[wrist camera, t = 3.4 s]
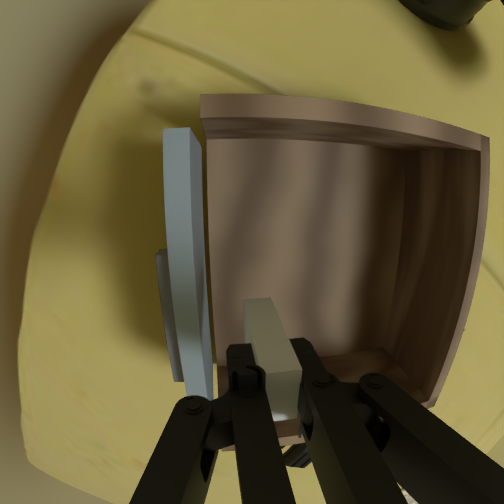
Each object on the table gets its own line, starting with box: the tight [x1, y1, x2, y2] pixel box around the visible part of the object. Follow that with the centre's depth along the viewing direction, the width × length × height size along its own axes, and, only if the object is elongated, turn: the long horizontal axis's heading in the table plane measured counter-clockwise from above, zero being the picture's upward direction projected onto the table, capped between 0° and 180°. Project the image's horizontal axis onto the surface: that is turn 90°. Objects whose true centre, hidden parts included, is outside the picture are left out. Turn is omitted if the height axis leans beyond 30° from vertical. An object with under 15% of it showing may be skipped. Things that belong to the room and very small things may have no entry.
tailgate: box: [155, 127, 213, 401], centre depth 20 cm, size 2×20×11 cm, turn 0°
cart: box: [200, 94, 490, 451], centre depth 23 cm, size 20×26×12 cm
